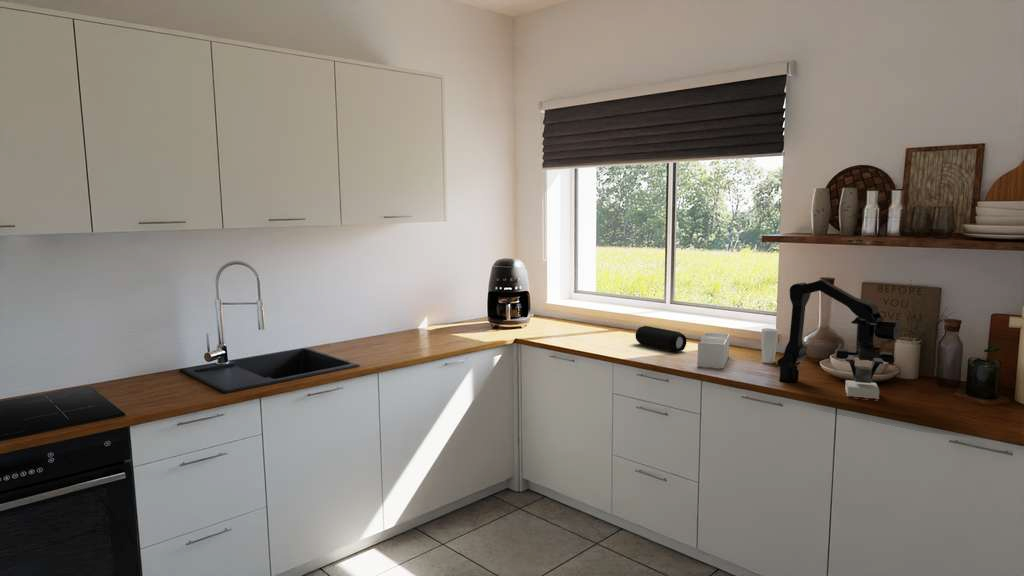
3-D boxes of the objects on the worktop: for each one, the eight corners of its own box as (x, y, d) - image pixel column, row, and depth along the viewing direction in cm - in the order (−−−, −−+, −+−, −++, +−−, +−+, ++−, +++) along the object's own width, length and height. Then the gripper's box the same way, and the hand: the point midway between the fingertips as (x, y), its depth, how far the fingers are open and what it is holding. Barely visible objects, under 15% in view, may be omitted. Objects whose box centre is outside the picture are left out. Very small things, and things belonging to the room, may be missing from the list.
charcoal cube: (855, 381, 236) (856, 368, 236) (854, 378, 241) (854, 365, 240) (870, 383, 235) (871, 370, 234) (869, 380, 239) (870, 366, 239)
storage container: (723, 369, 279) (724, 344, 277) (697, 366, 283) (698, 342, 282) (728, 357, 301) (729, 334, 300) (704, 355, 306) (705, 332, 304)
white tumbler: (758, 363, 289) (760, 330, 287) (762, 360, 294) (763, 327, 292) (774, 365, 285) (776, 331, 283) (777, 361, 291) (779, 329, 289)
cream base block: (847, 397, 236) (848, 386, 235) (845, 390, 245) (845, 380, 245) (878, 400, 232) (879, 389, 232) (875, 393, 241) (875, 382, 241)
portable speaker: (687, 351, 312) (688, 331, 311) (674, 354, 306) (674, 333, 305) (647, 343, 333) (647, 324, 331) (633, 345, 327) (634, 326, 325)
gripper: (838, 338, 232) (836, 381, 234) (898, 343, 225) (895, 386, 227) (836, 333, 242) (833, 373, 244) (893, 337, 235) (890, 378, 237)
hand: (862, 378), depth 238 cm, fingers closed on charcoal cube, 5 cm apart
